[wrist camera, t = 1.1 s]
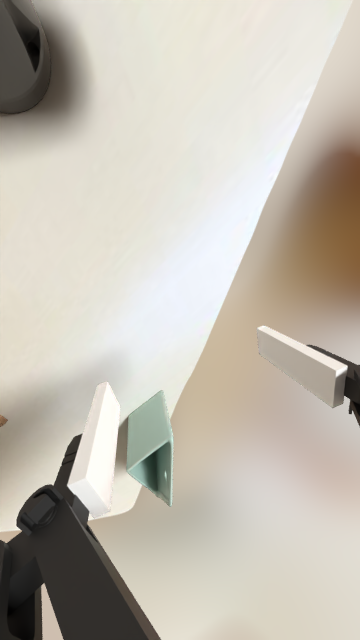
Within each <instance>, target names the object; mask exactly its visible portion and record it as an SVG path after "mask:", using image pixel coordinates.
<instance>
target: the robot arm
mask: <svg viewBox="0 0 360 640" xmlns="http://www.w3.org/2000/svg"><path fill="white" fill-rule="evenodd" d="M50 73H51V60H50V52H49V47H48V43H47V39H46V36H45V33H44V30H43V28H42V25H41V23H40V20H39V18H38V15H37V13H36V10H35V8H34V5H33V3H32V1H31V0H0V112H3V113H19V112H23V111H26V110H28V109H30V108H32V107H34V106H35V105H36V104H37V103H38V102H39V101H40V100H41V99H42V97H43V96H44V94H45V92H46V90H47V87H48V84H49V80H50ZM257 338H258V346H259V347H258V348H259V354H260V355H261V356H262V357H264V358H265V359H267V360H268V361H269V362H270V363H272V364H273V365H275V366H276V367H277V368H279V369H280V370H281V371H283V372H284V373H285V374H287V375H288V376H289V377H291V378H292V379H294V380H295V381H296V382H298V383H299V384H300V385H302V386H303V387H304V388H306V389H307V390H309V391H310V392H311V393H313V394H314V395H315V396H317V397H318V398H319V399H321V400H322V401H323V402H325V403H326V404H328V405H329V406H330V407H332V408H334V407H336V406H339V405H341V404H343V401H344V396H346V397H347V398H349V399H350V405H349V414H352V410H353V412H354V414H355V417H356V419H357V421H358V423H359V426H360V365H356V364H354V363H352V362H350V361H347V360H345V359H343V358H341V357H339V356H336V355H334V354H332V353H330V352H328V351H325V350H324V349H321V348H319V347H317V346H312V345H306V346H305V345H304V344H302V343H300V342H298V341H295V340H293V339H291V338H289V337H287V336H285V335H283V334H281V333H279V332H277V331H275V330H273V329H271V328H269V327H267V326H261V327H258V328H257ZM119 416H120V405H119V403H118V401H117V399H116V397H115V395H114V393H113V391H112V389H111V387H110V385H109V383H108V381H107V382H104V383H101V384H98V385H97V388H96V392H95V395H94V398H93V402H92V405H91V408H90V411H89V415H88V418H87V421H86V425H85V428H84V431H83V434H80V435H78V436H75V437H74V438H73V440H72V441H71V443H70V444H69V446H68V448H67V450H66V453H65V458H64V459H63V461H62V466H61V467H60V470H59V472H58V475H57V478H56V481H55V483H54V486H53V485H45V486H43V487H41V488H39V489H38V490H37V491H36V492H35V493H33V494H32V495H31V496H30V497H29V499H28V500H27V501H26V502H25V504H24V505H23V507H22V508H21V510H20V512H19V514H18V517H17V527H18V528H20V529H21V530H22V532H21V533H19V534H18V535H17V536H16V537H14V538H13V539H12V540H11V541H9V542H8V543H5V542H3V541H1V540H0V640H42V601H41V585H42V584H43V583H45V586H46V589H47V592H48V595H49V598H50V601H51V604H52V606H53V610H54V613H55V616H56V618H57V621H58V624H59V627H60V630H61V633H62V636H63V639H64V640H161V639H160V637H159V636H158V634H157V633H156V631H155V629H154V628H153V626H152V625H151V623H150V621H149V620H148V618H147V617H146V615H145V614H144V612H143V611H142V609H141V607H140V606H139V604H138V603H137V601H136V600H135V598H134V596H133V595H132V593H131V592H130V590H129V588H128V587H127V585H126V584H125V582H124V580H123V579H122V577H121V576H120V574H119V573H118V571H117V569H116V568H115V566H114V565H113V563H112V562H111V560H110V559H109V557H108V555H107V554H106V552H105V551H104V549H103V548H102V546H101V544H100V543H99V541H98V540H97V538H96V536H95V535H94V534H93V532H92V530H91V529H90V527H89V526H88V525H87V522H88V516H89V513H90V514H91V515H92V517H93V518H97V517H99V516H101V515H103V514H105V513H107V512H110V508H111V498H112V488H113V478H114V467H115V457H116V447H117V437H118V426H119Z"/></svg>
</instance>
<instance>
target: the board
mask: <svg viewBox="0 0 360 640" xmlns="http://www.w3.org/2000/svg"><path fill="white" fill-rule="evenodd" d="M6 422H7V419H5V418H4V417H3V416H1V415H0V427H1V426H3V425H4V424H5V423H6Z"/></svg>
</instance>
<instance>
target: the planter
mask: <svg viewBox="0 0 360 640" xmlns="http://www.w3.org/2000/svg"><path fill="white" fill-rule="evenodd" d="M126 471H127V473H128V474H129V475H131V476H132V477H133V478H134V479H135V480H137V481H138V482H139V483H141V484H142V485H144V486H145V487H146V488H148V489H149V490H150V491H151V492H153V493H154V494H155V495H156V496H157V497H159V498H161V499H162V500H163V501H164V502H166V503H167V505H168V506H170V507H171V506H172V486H173V432H172V428H171V423H170V419H169V414H168V410H167V405H166V401H165V397H164V392H163V390H161V391H159V392H158V393H157V394H156V395H154V396H153V397H152V398H150V399H149V400H148V401H147V402H145V403H144V404H143V405H141V406H140V407H139V408H137V409H136V410H135V411H134V412H133V413H131V414H130V415H129V418H128V443H127V467H126Z"/></svg>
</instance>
